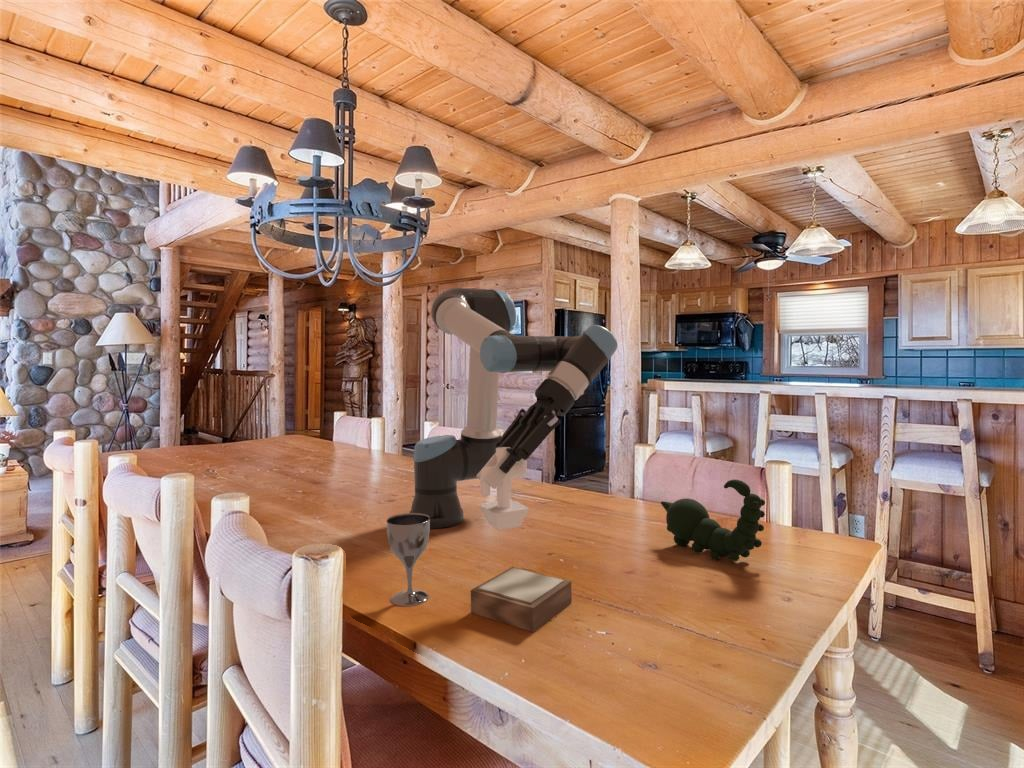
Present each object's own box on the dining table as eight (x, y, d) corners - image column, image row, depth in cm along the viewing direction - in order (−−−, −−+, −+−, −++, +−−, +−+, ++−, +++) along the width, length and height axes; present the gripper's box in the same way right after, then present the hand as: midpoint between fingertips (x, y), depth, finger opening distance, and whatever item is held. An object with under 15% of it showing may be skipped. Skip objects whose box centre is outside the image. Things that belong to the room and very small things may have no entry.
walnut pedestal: (471, 612, 96) (470, 588, 96) (512, 586, 106) (512, 565, 106) (533, 632, 88) (533, 606, 88) (571, 602, 99) (571, 579, 99)
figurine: (473, 523, 104) (472, 446, 103) (516, 516, 109) (516, 442, 108) (490, 534, 98) (489, 452, 97) (535, 526, 102) (535, 447, 102)
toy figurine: (767, 571, 117) (671, 531, 138) (775, 483, 115) (676, 456, 136) (741, 581, 112) (645, 538, 132) (749, 490, 110) (651, 461, 130)
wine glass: (412, 585, 108) (410, 510, 107) (440, 596, 103) (438, 517, 102) (379, 599, 102) (377, 520, 101) (407, 611, 97) (405, 527, 96)
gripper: (595, 404, 102) (517, 504, 95) (552, 401, 116) (482, 487, 109) (570, 376, 99) (488, 477, 93) (530, 376, 114) (456, 463, 107)
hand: (485, 482), depth 101 cm, fingers closed on figurine, 3 cm apart
